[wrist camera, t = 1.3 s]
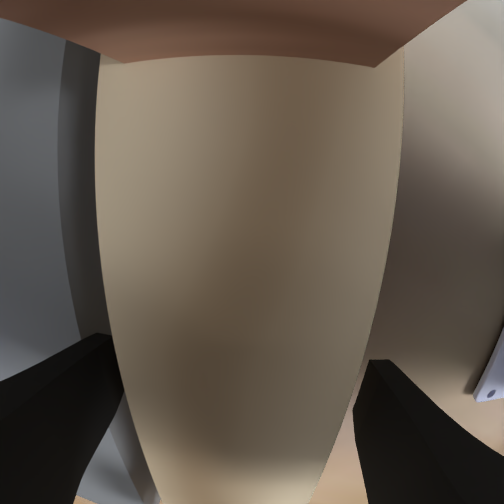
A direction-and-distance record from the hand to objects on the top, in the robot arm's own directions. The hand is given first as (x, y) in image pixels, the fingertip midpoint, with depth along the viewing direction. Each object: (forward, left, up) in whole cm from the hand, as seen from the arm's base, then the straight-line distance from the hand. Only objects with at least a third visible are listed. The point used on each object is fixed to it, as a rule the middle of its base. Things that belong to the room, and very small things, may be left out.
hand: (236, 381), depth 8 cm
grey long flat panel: (+9, 0, -3) cm, 10 cm away
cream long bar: (0, 0, -3) cm, 3 cm away
